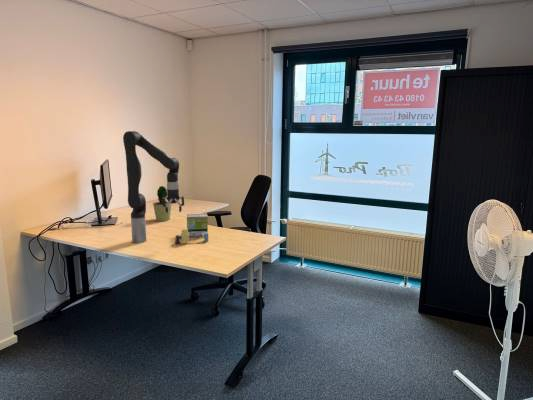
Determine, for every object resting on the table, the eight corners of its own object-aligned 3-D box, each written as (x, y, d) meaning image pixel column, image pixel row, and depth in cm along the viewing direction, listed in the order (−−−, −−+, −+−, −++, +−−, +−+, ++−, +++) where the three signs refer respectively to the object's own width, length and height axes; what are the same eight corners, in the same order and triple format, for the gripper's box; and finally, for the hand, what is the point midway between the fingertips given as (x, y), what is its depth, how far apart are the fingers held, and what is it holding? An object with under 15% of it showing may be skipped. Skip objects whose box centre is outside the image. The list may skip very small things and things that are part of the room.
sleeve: (181, 241, 253) (181, 230, 252) (181, 239, 258) (180, 228, 256) (189, 241, 255) (188, 229, 253) (188, 239, 259) (188, 228, 258)
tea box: (187, 236, 272) (186, 216, 269) (187, 233, 281) (186, 213, 279) (208, 235, 274) (207, 216, 272) (207, 232, 284) (206, 213, 281)
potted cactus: (151, 219, 323) (149, 185, 317) (168, 217, 332) (166, 183, 327) (157, 222, 311) (156, 187, 305) (175, 220, 320) (173, 185, 315)
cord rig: (176, 244, 252) (175, 236, 251) (175, 242, 258) (174, 233, 256) (208, 242, 259) (208, 233, 258) (207, 239, 264) (207, 231, 263)
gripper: (162, 189, 242) (163, 214, 245) (184, 188, 247) (185, 212, 249) (161, 187, 249) (162, 211, 252) (183, 187, 253) (183, 210, 256)
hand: (173, 212), depth 251 cm, fingers open, 8 cm apart
